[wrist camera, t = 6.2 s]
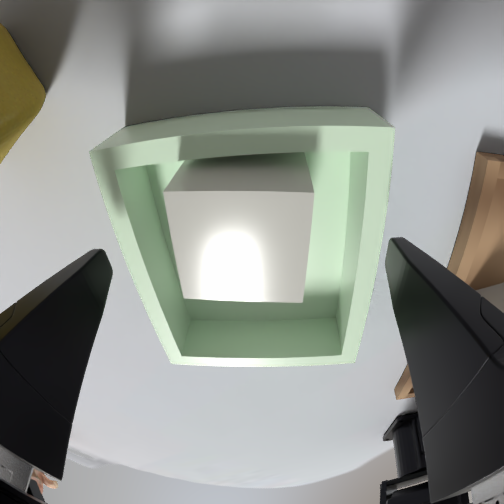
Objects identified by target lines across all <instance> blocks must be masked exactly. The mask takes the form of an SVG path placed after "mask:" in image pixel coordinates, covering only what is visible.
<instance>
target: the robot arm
mask: <svg viewBox="0 0 504 504" xmlns="http://www.w3.org/2000/svg"><path fill="white" fill-rule="evenodd" d="M385 268H386V273H387V278H388V283H389V288H390V294H391V299H392V305H393V310H394V314H395V318H396V321H397V325H398V328H399V332H400V336H401V339H402V343H403V347H404V351H405V355H406V359H407V363H408V367H409V372H410V376H411V380H412V385H413V389H414V394H415V399H416V404H417V409H418V413H417V414H411V415H405V416H400V417H398V418H397V419H396V420H395V421H394V423H393V424H392V426H391V427H390V428H389V430H388V431H387V432H386V434H385V435H384V436H383V441H389V440H393V443H394V450H395V457H396V466H397V474H398V478H396V479H393V480H389V481H388V480H386V481H382V484H381V485H380V489H381V490H380V504H469V497H468V491H471V493H472V500H473V502H472V503H470V504H504V313H503V312H502V311H501V310H499V309H498V308H497V307H496V306H494V305H493V304H492V303H490V302H489V301H488V300H487V299H486V298H484V297H483V296H482V297H481V294H479V293H478V292H477V291H476V290H474V289H473V288H472V287H470V286H469V285H468V284H467V283H465V282H464V281H463V280H461V279H460V278H459V277H457V276H456V275H455V274H453V273H452V272H451V271H449V270H448V269H447V268H445V267H444V266H443V265H441V264H440V263H439V262H437V261H436V260H434V259H433V258H432V257H430V256H429V255H428V254H426V253H425V252H423V251H422V250H420V249H419V248H418V247H416V246H415V245H413V244H412V243H410V242H409V241H408V240H406V239H405V238H403V237H396V238H391V239H390V240H389V243H388V249H387V254H386V259H385ZM112 275H113V270H112V267H111V264H110V262H109V260H108V257H107V255H106V252H105V251H104V250H103V249H93V250H91V251H89V252H88V253H86V254H84V255H83V256H81V257H80V258H78V259H77V260H75V261H74V262H72V263H71V264H69V265H68V266H66V267H65V268H63V269H62V270H60V271H59V272H58V273H56V274H55V275H53V276H52V277H50V278H49V279H47V280H46V281H45V282H43V283H42V284H40V285H39V286H38V287H36V288H35V289H33V290H32V291H31V292H29V293H28V294H26V295H25V296H24V297H22V298H21V299H20V300H18V301H17V303H14V304H13V305H11V306H10V307H9V308H7V309H6V310H5V311H3V312H2V313H1V314H0V504H47V503H45V501H44V498H43V496H42V494H41V491H40V489H39V486H38V484H37V482H36V481H35V480H33V479H31V476H32V473H33V470H34V469H36V470H38V471H40V472H42V473H44V474H46V475H49V476H51V477H53V478H56V479H58V480H60V481H61V480H62V477H63V472H64V465H65V460H66V454H67V448H68V443H69V438H70V433H71V428H72V423H73V419H74V414H75V410H76V406H77V402H78V397H79V393H80V390H81V386H82V382H83V378H84V374H85V371H86V367H87V364H88V360H89V357H90V353H91V350H92V347H93V343H94V340H95V337H96V334H97V331H98V328H99V324H100V321H101V318H102V315H103V312H104V308H105V304H106V299H107V295H108V291H109V287H110V283H111V279H112ZM425 480H428V482H425V483H422V484H419V485H415V486H412V487H408V488H405V489H401V490H397V489H398V488H402V487H406V486H409V485H412V484H416V483H419V482H422V481H425Z"/></svg>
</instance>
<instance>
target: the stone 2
mask: <svg viewBox="0 0 504 504" xmlns="http://www.w3.org/2000/svg"><path fill="white" fill-rule="evenodd" d="M163 194H164V200H165V206H166V212H167V217H168V223H169V228H170V234H171V239H172V244H173V249H174V254H175V259H176V264H177V269H178V274H179V279H180V283H181V288H182V292H183V297H184V299H203V300H224V301H249V302H285V303H303V296H304V288H305V280H306V271H307V263H308V254H309V244H310V235H311V225H312V214H313V203H314V189H313V185H312V181H311V177H310V172H309V168H308V165H307V161H306V157H305V153H304V152H292V153H269V154H252V155H237V156H225V157H213V158H202V159H193V160H185V161H184V162H183V163H182V165H181V166H180V168H179V169H178V171H177V172H176V173H175V175H174V176H173V178H172V179H171V181H170V182H169V184H168V185H167V187H166V188H165V190H164V191H163Z"/></svg>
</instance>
